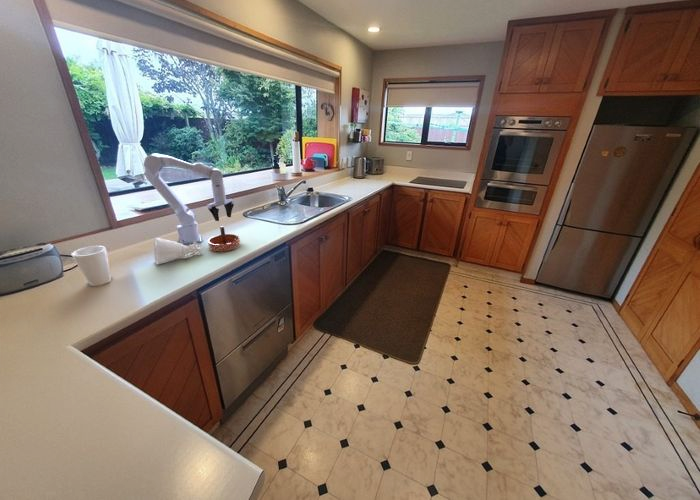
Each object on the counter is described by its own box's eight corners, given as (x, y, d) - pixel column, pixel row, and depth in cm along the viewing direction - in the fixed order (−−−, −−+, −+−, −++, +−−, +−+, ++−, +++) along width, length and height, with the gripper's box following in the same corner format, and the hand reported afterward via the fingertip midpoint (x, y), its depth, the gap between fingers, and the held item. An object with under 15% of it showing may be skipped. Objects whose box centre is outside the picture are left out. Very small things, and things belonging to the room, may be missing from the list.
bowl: (211, 254, 131) (210, 246, 130) (207, 244, 142) (205, 236, 141) (243, 248, 139) (241, 241, 137) (236, 239, 149) (235, 232, 148)
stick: (223, 246, 139) (220, 227, 135) (222, 245, 140) (219, 226, 136) (227, 245, 140) (224, 226, 136) (226, 244, 141) (223, 225, 137)
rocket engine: (202, 232, 130) (156, 232, 118) (207, 254, 126) (159, 256, 114) (197, 245, 138) (153, 246, 126) (201, 266, 134) (156, 269, 122)
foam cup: (91, 277, 109) (79, 247, 104) (119, 274, 113) (109, 244, 107) (79, 289, 101) (65, 257, 96) (110, 285, 104) (99, 254, 99)
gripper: (212, 197, 135) (216, 223, 140) (236, 191, 146) (239, 216, 152) (202, 195, 137) (207, 221, 143) (226, 189, 149) (230, 214, 155)
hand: (223, 218), depth 148 cm, fingers open, 7 cm apart
